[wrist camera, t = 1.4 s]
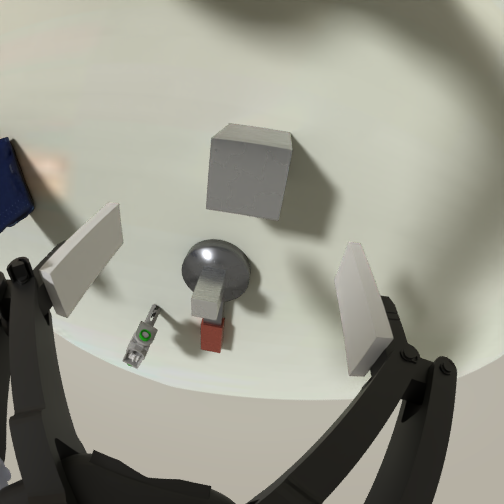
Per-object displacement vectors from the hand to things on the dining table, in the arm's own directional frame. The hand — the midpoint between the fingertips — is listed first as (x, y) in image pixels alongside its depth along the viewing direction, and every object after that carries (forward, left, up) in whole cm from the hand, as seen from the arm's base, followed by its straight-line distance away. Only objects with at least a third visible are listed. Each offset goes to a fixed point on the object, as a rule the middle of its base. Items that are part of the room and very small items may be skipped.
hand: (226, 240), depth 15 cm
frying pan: (+22, -3, -17) cm, 28 cm away
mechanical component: (+27, -13, -17) cm, 34 cm away
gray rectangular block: (0, 0, -17) cm, 17 cm away
